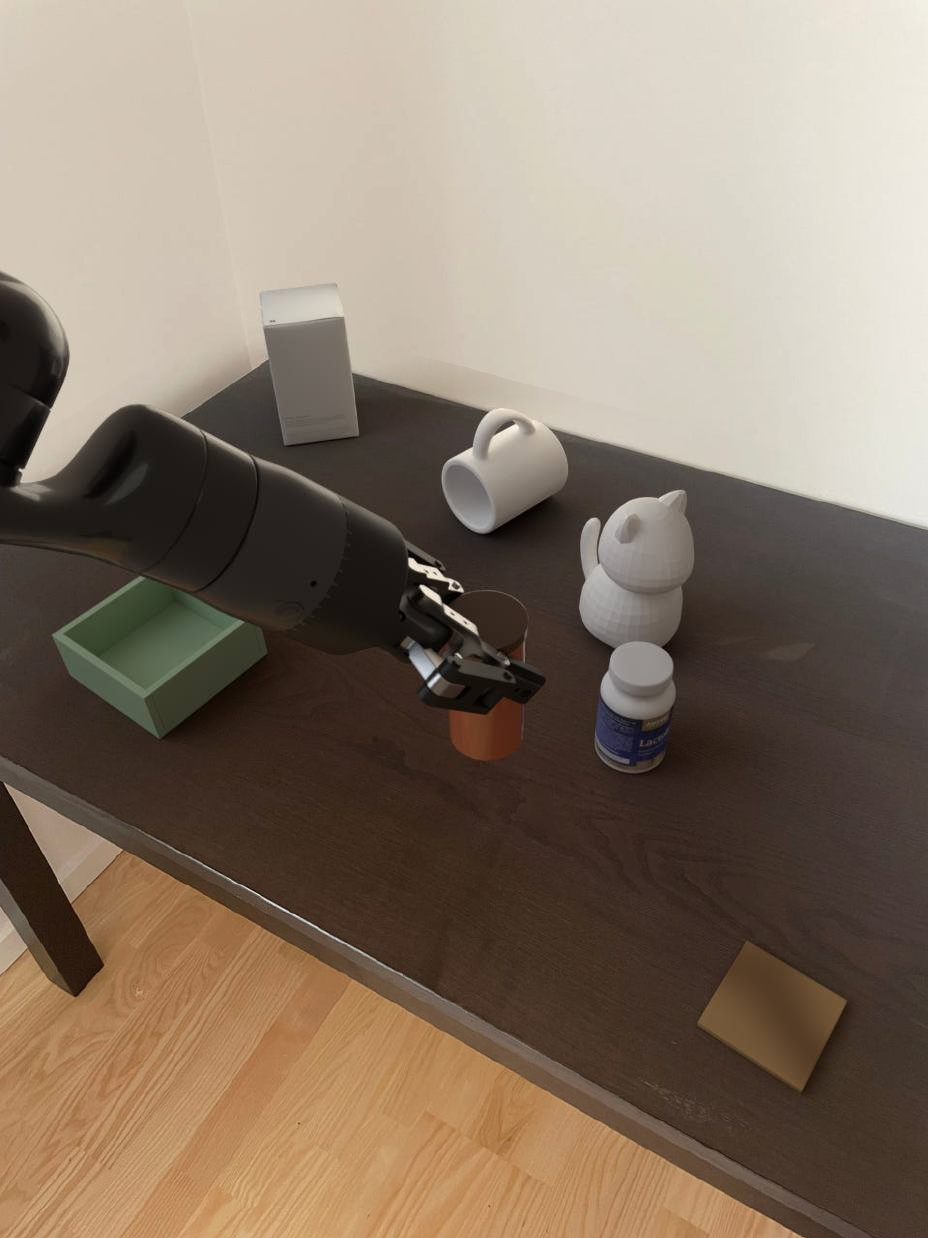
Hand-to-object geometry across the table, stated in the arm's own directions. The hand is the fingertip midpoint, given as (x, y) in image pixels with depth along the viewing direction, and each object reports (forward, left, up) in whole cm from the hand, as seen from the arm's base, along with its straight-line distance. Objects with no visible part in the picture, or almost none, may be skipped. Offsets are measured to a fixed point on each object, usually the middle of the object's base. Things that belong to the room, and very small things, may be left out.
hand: (512, 656), depth 59 cm
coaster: (-1, -21, -20) cm, 29 cm away
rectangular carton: (+34, +53, -20) cm, 66 cm away
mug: (+33, +25, -20) cm, 46 cm away
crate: (-3, +36, -20) cm, 41 cm away
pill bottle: (+13, -2, -20) cm, 24 cm away
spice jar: (-2, +1, -6) cm, 6 cm away
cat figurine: (+25, +6, -20) cm, 33 cm away
